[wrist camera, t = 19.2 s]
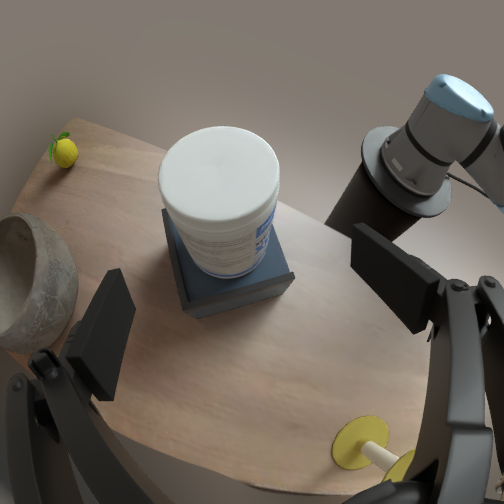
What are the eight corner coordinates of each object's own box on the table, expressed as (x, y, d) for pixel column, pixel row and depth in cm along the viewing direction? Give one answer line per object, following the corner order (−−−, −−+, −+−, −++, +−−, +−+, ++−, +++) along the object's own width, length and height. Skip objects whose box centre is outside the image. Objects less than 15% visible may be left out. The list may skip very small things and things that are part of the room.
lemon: (66, 181, 45) (43, 153, 36) (58, 169, 46) (36, 142, 37) (89, 159, 47) (69, 129, 37) (79, 148, 48) (60, 119, 38)
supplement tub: (272, 275, 32) (295, 219, 18) (191, 285, 31) (153, 235, 17) (260, 202, 35) (270, 119, 21) (187, 211, 34) (159, 132, 20)
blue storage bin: (256, 216, 43) (260, 183, 34) (283, 293, 39) (295, 277, 30) (177, 237, 41) (161, 209, 33) (196, 318, 37) (182, 310, 29)
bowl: (48, 224, 42) (3, 186, 27) (118, 272, 39) (67, 236, 25) (6, 314, 35) (-46, 297, 21) (68, 379, 33) (7, 384, 19)
